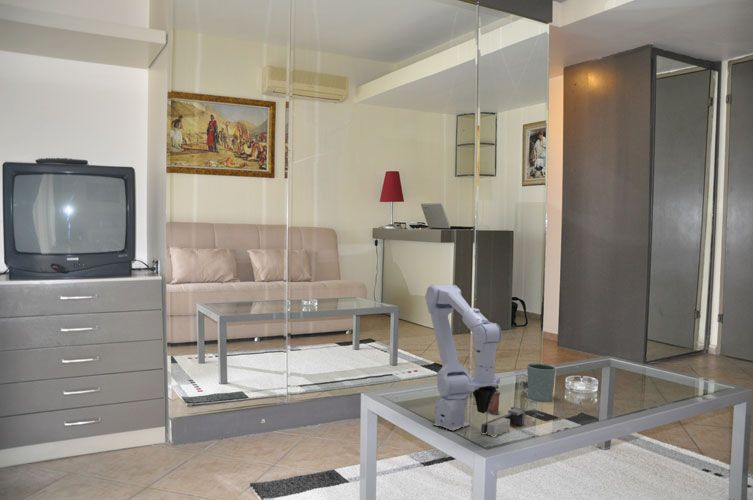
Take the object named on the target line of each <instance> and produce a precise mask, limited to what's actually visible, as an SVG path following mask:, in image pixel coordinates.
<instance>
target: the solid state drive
mask: <svg viewBox="0 0 753 500" xmlns="http://www.w3.org/2000/svg"><path fill="white" fill-rule="evenodd" d="M525 416H529V417H532V418H535V419H538V420H540V421H543V422H548V421H549V422H550V421H553V420H557V419H559V416H556V415H553V414H551V413H547V412H545V411H544V412H543V411H541V410H538V409H535V408H533V409H529V410H525Z"/></svg>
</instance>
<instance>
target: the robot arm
mask: <svg viewBox="0 0 753 500" xmlns="http://www.w3.org/2000/svg"><path fill="white" fill-rule="evenodd" d="M424 295H425V296H424V297H425V301H426V306H427V310H428V313H429V314H430V318H431V323H432V326H433V331H434V335H435V339H436V343H437V349H438V353H439V357H440V360H441V365H442V367H441V368H440V369H439V370H438V372H437V373H436V378H437V384H436V385H437V391H438V393H439V395H440V396H441V398H440V399H439V400H438V401H437V402H436V404H435V408H434V410H435V412H434V422H435V423H438V424H440V425H442V426H445V427H447V428H454V427H463V428H465V427H464V426H466V427H468V425H469V426H471V424H470V423H469V422H466V421H465V417H466V414H465V413H466V405H467V404H466V402H467V398H468V397H469V395H470V394H471V393H472V395H473V397H474V401H475V405H476V410H477V412H478V413H481V414H486V413H488V412H487V410H488V407H489V403H490V401H491V398H492V396H493V394H494V393H495V392H496V390H497V389H496V388H494V387H492V386H497V385H500V384H501V377H500V376H496V375H495V374H496V362H497V361H496V359H497V348H498V347H497V345H498V343H500V342H501V340H502V337H503V336H502V335H503V334H502V329H501V327H500V325H499V324H498V323H496V322H494V323H493V322H490V320H489V319H487V318H486V317H485V316H484V315H483V314H482V313H481V311H480V309H479V308H474V307H472V308H471V306H470V305H469V303H468V302H467V301H466V299H465V298H464V297H463V296H462V290H461V288H459V287H458V286H457V285H456V284H452V285H451V284H450V285H447V284H446V285H445V284H441V285H440V284H439V285H438V284H437V285H436V284H430V285H429V286H428V287H427V289H426V293H425V294H424ZM454 310H455V311H456V312H458V313H459V314H460V315H461V316H462V318H461V319H462V323H464V325H465V326H466V327H467V328H468V329H469V330H470V332H471V333H472V338H473V341H474V345H473V346H474V350H475V360H474V363H475V364H474V376H473V379H472V377H471V376H470V375H469V372H468V369H467V367H465V366H464V365H462V364H461V363H460V361H459V357H458V353H457V349H456V345H455V340H454V336H453V333H452V328H451V325H450V319H449V315H450V314H451V313H453V312H454Z"/></svg>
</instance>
